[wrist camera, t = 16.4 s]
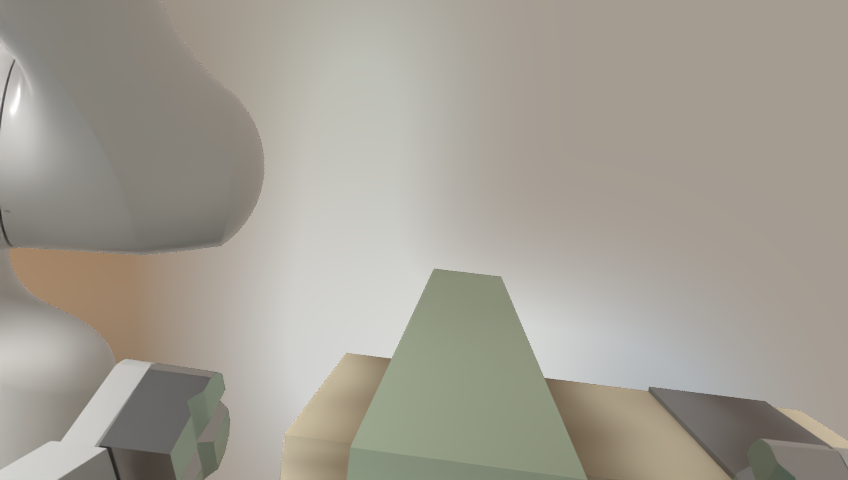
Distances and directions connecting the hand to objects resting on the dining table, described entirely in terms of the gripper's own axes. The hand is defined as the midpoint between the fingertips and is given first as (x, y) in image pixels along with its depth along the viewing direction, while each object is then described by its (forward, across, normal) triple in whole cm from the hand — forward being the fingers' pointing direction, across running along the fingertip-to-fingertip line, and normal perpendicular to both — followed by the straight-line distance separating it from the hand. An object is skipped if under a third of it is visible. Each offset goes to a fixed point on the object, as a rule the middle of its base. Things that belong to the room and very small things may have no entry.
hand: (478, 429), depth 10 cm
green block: (+8, 0, +9) cm, 12 cm away
